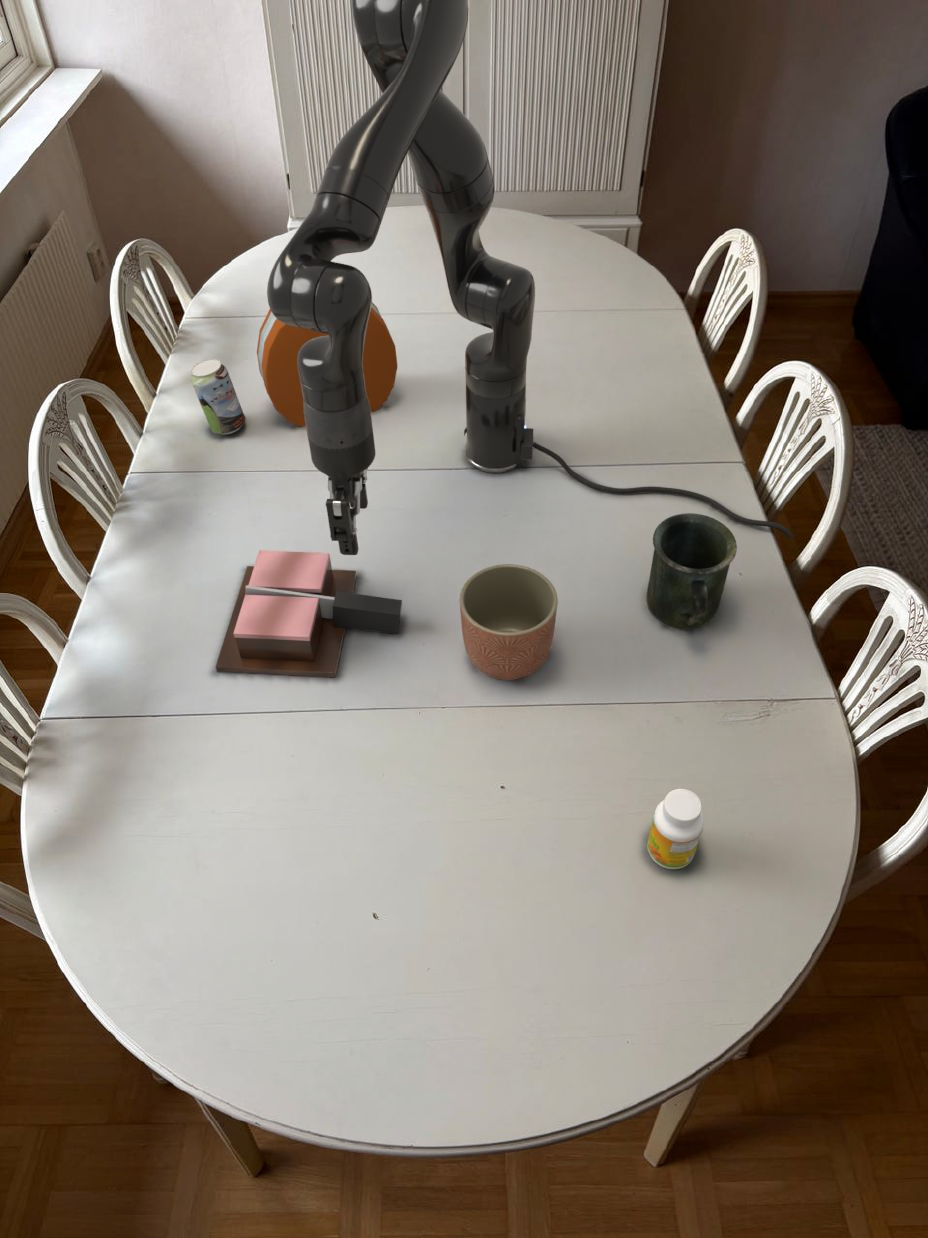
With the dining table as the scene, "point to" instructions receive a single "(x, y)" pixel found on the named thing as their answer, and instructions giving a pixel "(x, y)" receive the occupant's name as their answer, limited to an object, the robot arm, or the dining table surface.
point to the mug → (689, 569)
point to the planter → (508, 620)
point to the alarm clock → (282, 369)
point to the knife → (349, 609)
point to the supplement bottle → (676, 829)
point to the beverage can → (217, 396)
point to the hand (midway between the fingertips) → (354, 529)
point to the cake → (286, 618)
